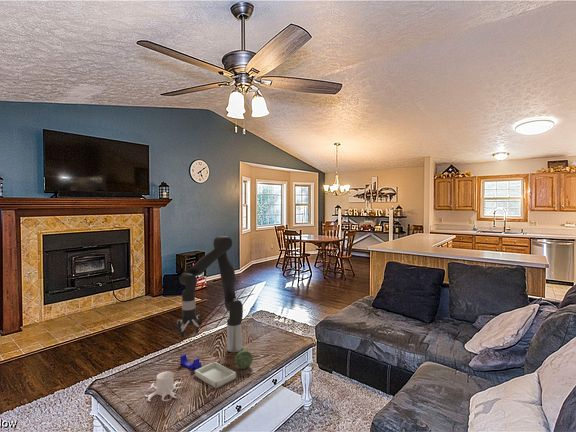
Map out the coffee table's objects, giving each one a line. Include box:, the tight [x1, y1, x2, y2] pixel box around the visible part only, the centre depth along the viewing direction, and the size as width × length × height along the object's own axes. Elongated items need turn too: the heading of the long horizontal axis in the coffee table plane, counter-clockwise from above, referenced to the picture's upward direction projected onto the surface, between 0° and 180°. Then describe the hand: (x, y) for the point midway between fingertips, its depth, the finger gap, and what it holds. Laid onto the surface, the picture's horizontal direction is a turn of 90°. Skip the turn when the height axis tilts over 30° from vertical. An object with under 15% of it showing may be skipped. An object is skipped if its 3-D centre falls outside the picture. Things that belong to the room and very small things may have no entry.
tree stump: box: [144, 371, 184, 402], centre depth 161 cm, size 20×19×8 cm
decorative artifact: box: [234, 349, 254, 370], centre depth 181 cm, size 10×7×10 cm
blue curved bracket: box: [179, 353, 202, 371], centre depth 185 cm, size 12×4×6 cm, turn 63°
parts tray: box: [194, 361, 238, 389], centre depth 173 cm, size 14×20×3 cm
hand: (189, 335), depth 183 cm, fingers open, 8 cm apart
